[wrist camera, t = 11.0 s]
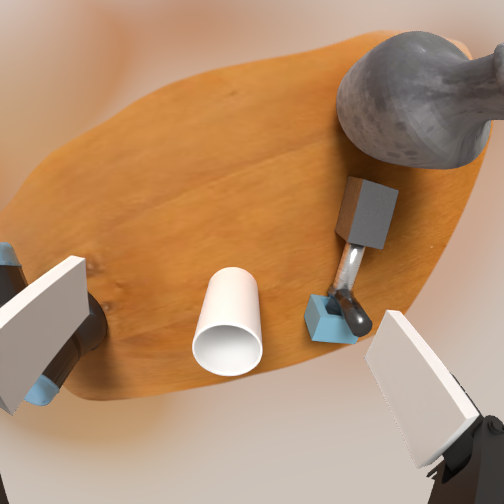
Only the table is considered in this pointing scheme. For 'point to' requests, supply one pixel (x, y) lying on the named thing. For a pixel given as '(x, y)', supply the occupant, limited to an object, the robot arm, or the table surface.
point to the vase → (421, 101)
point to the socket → (326, 323)
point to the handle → (348, 292)
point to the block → (366, 212)
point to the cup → (229, 324)
